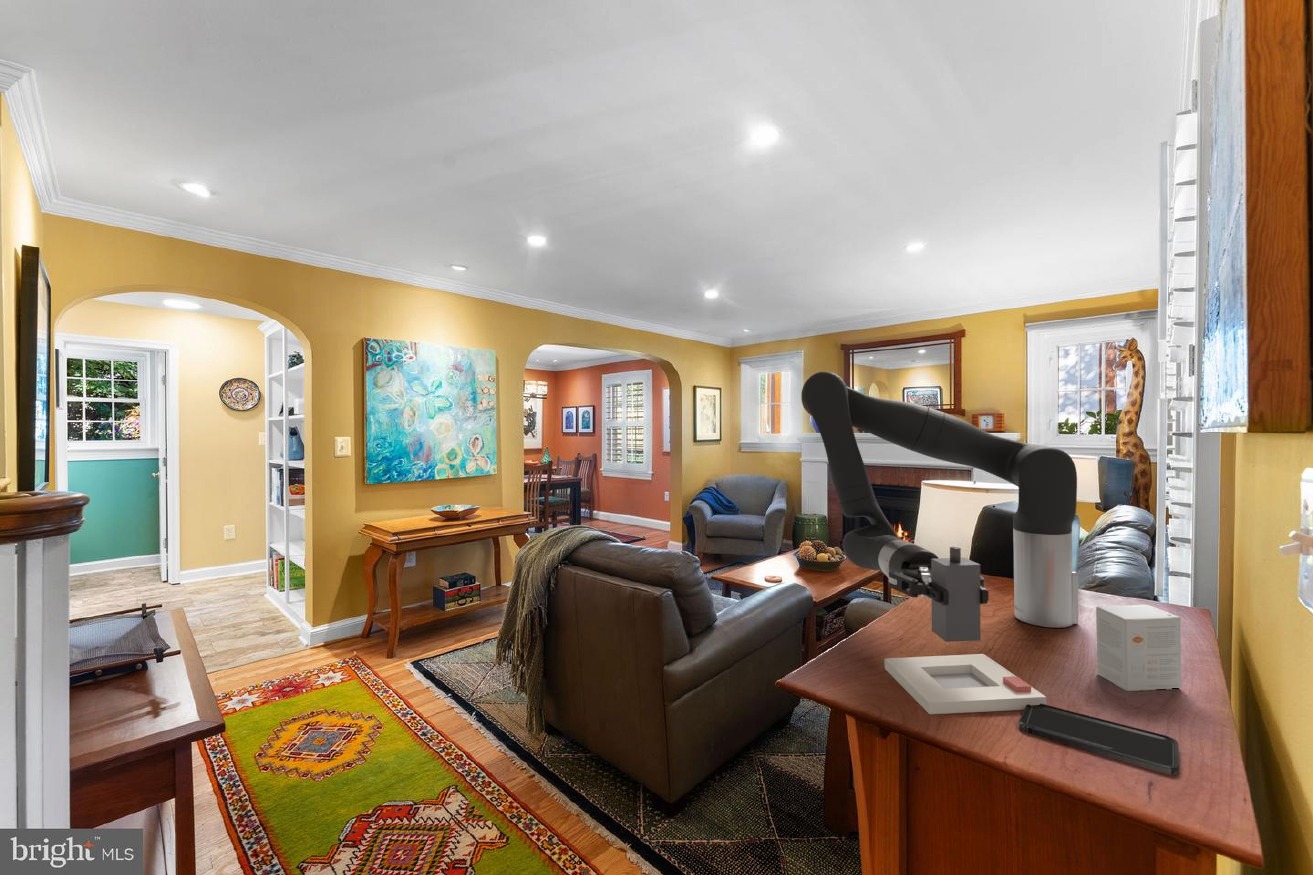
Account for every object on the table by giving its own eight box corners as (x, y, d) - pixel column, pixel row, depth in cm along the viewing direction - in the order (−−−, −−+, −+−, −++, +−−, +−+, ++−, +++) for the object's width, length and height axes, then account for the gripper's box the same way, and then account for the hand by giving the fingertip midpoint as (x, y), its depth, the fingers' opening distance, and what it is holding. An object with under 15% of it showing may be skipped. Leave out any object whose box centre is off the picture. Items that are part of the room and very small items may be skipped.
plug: (964, 629, 85) (964, 544, 84) (980, 640, 81) (980, 550, 80) (931, 631, 85) (931, 545, 84) (945, 641, 81) (945, 551, 80)
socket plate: (983, 663, 90) (983, 648, 90) (1046, 708, 76) (1046, 690, 76) (884, 668, 90) (884, 653, 90) (929, 714, 76) (929, 696, 76)
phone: (1028, 700, 77) (1178, 738, 67) (1028, 708, 77) (1178, 747, 67) (1017, 724, 71) (1178, 770, 61) (1017, 733, 71) (1179, 780, 61)
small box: (1148, 672, 85) (1148, 603, 85) (1182, 690, 80) (1182, 616, 79) (1095, 674, 85) (1094, 605, 85) (1125, 692, 80) (1125, 618, 80)
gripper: (867, 545, 97) (915, 573, 80) (950, 542, 97) (1015, 570, 80) (868, 588, 97) (916, 625, 80) (950, 585, 97) (1015, 622, 80)
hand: (965, 597), depth 80 cm, fingers closed on plug, 5 cm apart
